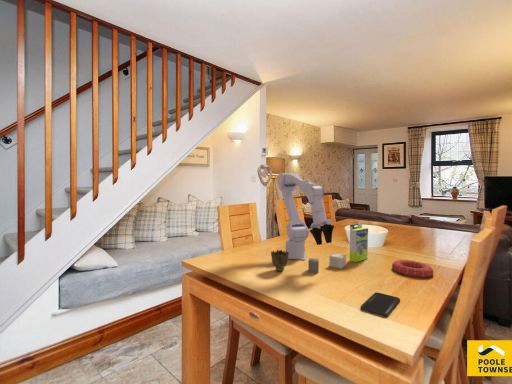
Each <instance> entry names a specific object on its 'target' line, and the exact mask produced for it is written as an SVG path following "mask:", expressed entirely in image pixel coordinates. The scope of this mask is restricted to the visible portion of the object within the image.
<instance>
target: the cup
mask: <svg viewBox="0 0 512 384" xmlns="http://www.w3.org/2000/svg"><path fill="white" fill-rule="evenodd" d="M270 254H271V263H272V265H273V266H274V267H275V271H277V272H283V271H285V267H287V264H288V261H289V259H288V254H289V252H287V251H286V250H282V249H280V250H278V249H276V251H274V250H273V251H271V252H270Z"/></svg>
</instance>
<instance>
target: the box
mask: <svg viewBox="0 0 512 384" xmlns="http://www.w3.org/2000/svg"><path fill="white" fill-rule="evenodd" d="M368 247H369V228H368V227H364V226H363V223H362V222H358V223H353V224H349V262H352V263H358V262H361V261H364V260H367V259H368V250H369V249H368Z"/></svg>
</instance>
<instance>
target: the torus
mask: <svg viewBox="0 0 512 384" xmlns="http://www.w3.org/2000/svg"><path fill="white" fill-rule="evenodd" d="M391 268H392V270H394V271H395V272H397V273H398V274H400V273H401V275H403V274H404V275H403V276H408V277H412V278H423V279H424V278H431V277H432V276H433V275H434V270H433V268H432V266H430V265H428V264H426V263H423V262H419V261H415V260H408V259H400V260H399V259H398V260H395V261H393V262H392V263H391Z"/></svg>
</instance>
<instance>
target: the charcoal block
mask: <svg viewBox="0 0 512 384" xmlns="http://www.w3.org/2000/svg"><path fill="white" fill-rule="evenodd" d="M319 260H320V259H319V258H313V257H309V258H308V268H307V269H308V271H307V272H308V273H309V274H310V273H313V274H314V273H315V274H319V265H320V264H319Z"/></svg>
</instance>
